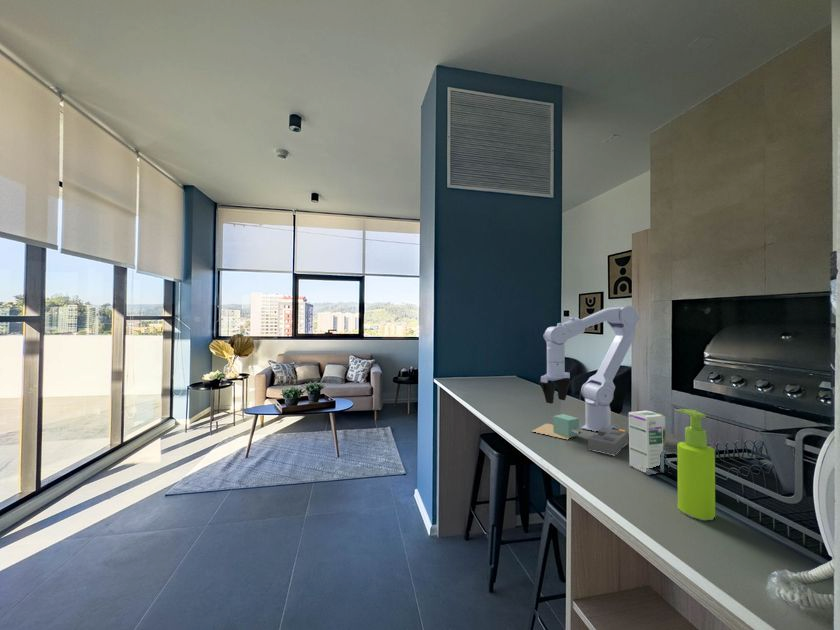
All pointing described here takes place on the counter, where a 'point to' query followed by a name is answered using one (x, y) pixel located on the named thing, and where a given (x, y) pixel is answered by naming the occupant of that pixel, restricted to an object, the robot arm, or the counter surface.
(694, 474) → the soap dispenser
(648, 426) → the syrup box
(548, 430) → the cork mat
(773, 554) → the counter surface
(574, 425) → the charger
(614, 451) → the power strip
